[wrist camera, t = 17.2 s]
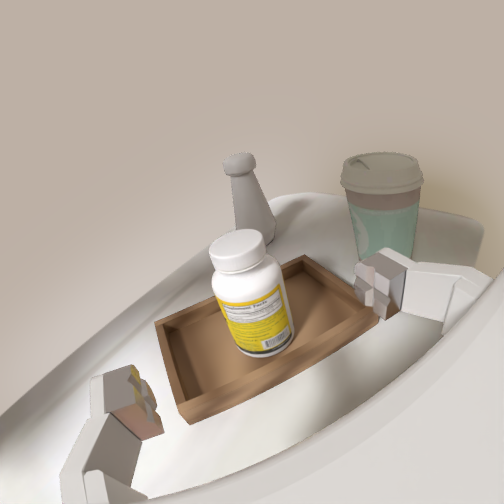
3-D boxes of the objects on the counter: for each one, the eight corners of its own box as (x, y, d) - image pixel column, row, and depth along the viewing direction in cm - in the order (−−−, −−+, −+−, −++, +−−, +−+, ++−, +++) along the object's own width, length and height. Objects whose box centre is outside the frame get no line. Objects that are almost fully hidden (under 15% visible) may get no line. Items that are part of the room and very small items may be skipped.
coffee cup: (363, 241, 36) (354, 150, 30) (425, 251, 30) (427, 152, 24) (336, 279, 30) (323, 171, 25) (411, 295, 25) (416, 176, 19)
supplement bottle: (247, 314, 28) (218, 226, 24) (300, 317, 26) (281, 221, 22) (226, 356, 24) (185, 263, 19) (286, 363, 22) (260, 261, 17)
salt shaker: (270, 227, 46) (250, 147, 39) (285, 240, 41) (265, 150, 34) (235, 240, 44) (211, 159, 38) (247, 255, 40) (221, 163, 33)
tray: (189, 425, 19) (179, 413, 18) (162, 335, 29) (154, 322, 28) (377, 323, 23) (379, 306, 22) (306, 268, 34) (304, 254, 33)
